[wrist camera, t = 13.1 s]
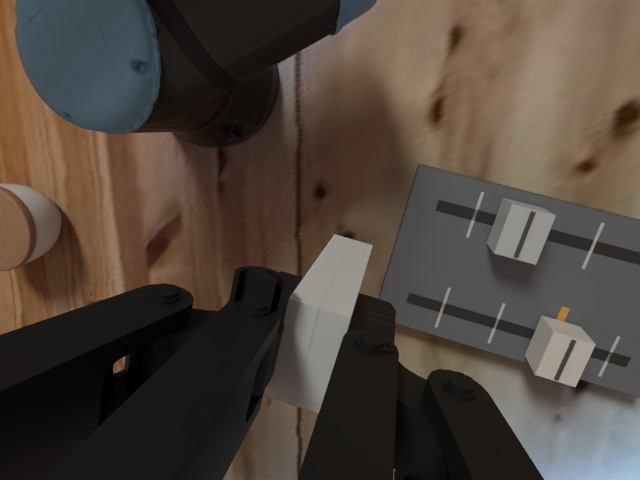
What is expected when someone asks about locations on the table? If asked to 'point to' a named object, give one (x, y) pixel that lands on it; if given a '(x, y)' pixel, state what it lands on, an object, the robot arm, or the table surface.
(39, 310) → the table surface
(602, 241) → the console
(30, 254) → the lidded jar
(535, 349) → the fader rear
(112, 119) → the robot arm
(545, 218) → the fader front
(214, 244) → the table surface
